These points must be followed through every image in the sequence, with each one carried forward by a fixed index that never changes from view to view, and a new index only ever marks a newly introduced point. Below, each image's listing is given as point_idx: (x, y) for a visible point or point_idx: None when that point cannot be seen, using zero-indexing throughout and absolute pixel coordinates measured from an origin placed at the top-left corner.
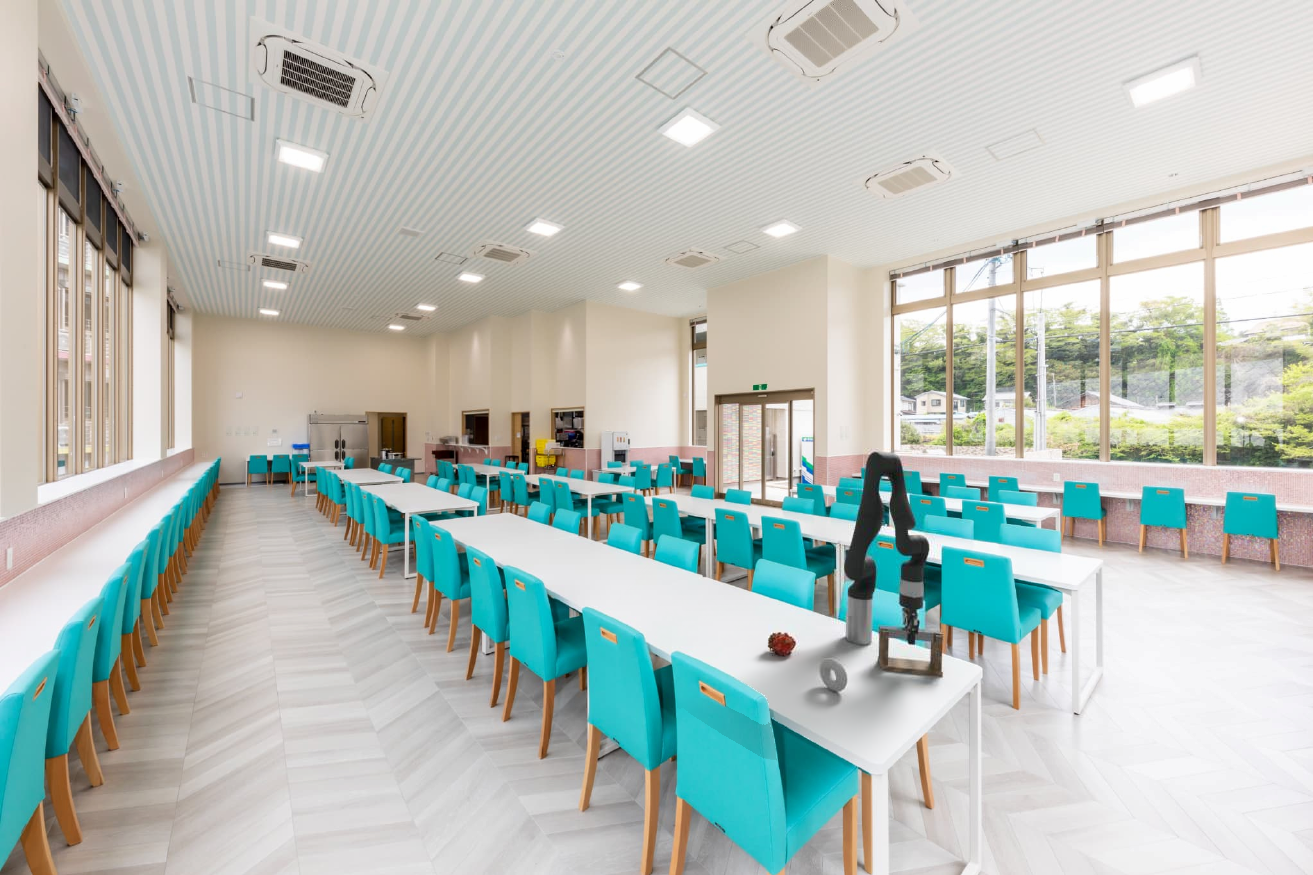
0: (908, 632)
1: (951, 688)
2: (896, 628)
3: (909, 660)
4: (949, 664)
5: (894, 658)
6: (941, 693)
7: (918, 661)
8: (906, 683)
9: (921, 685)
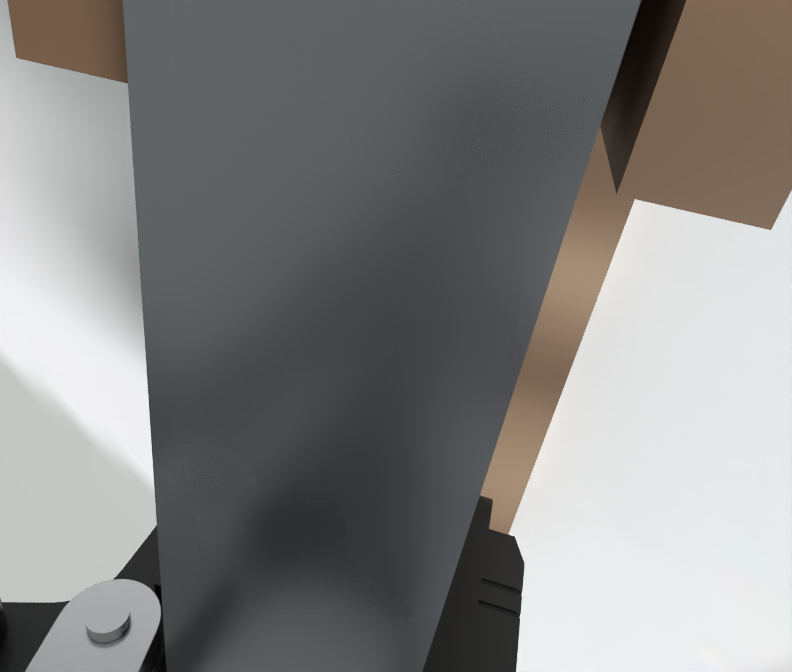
0: (88, 602)
1: (119, 419)
2: (286, 479)
3: (533, 365)
4: (532, 640)
5: (606, 215)
6: (12, 307)
7: (507, 439)
8: (89, 88)
9: (95, 220)
